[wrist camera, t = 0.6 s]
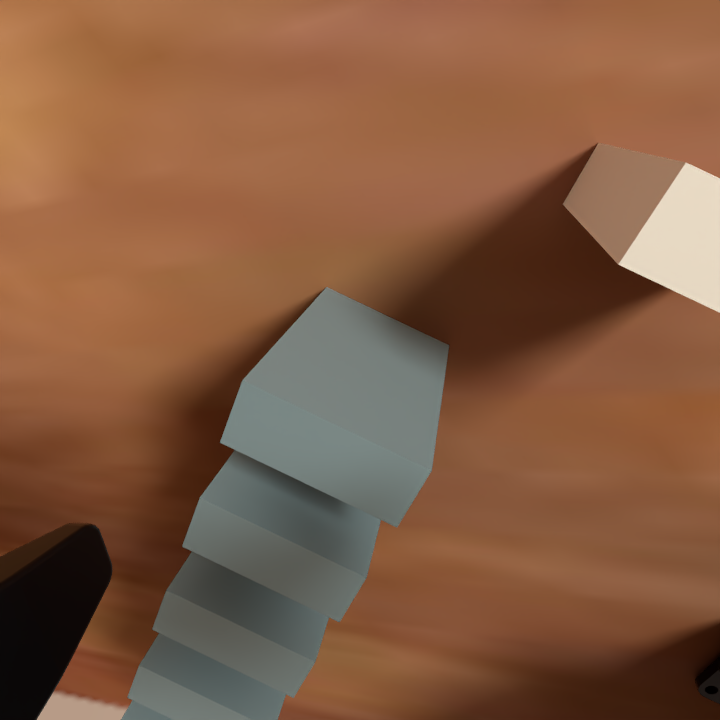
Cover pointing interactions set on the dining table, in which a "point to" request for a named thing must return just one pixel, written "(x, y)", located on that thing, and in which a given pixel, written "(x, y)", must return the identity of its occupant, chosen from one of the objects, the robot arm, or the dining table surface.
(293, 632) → the domino
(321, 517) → the domino
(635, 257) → the domino
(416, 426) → the domino
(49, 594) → the robot arm
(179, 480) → the dining table surface
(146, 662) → the domino
